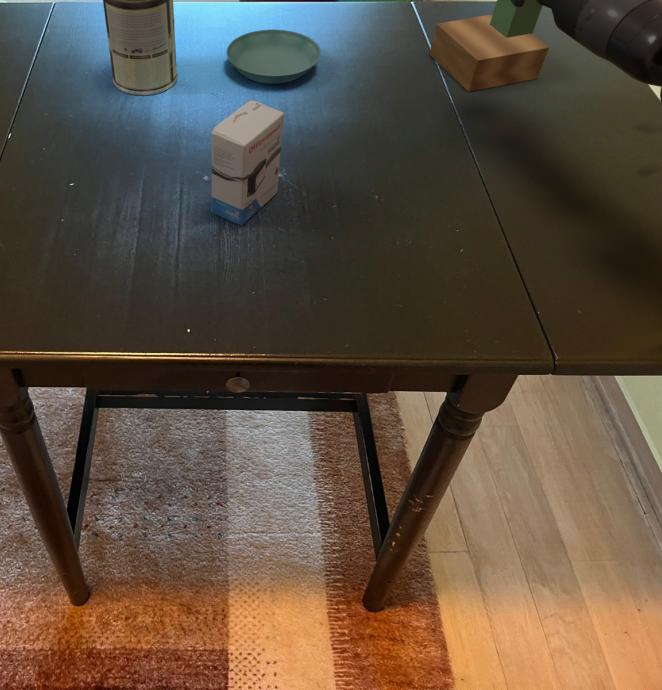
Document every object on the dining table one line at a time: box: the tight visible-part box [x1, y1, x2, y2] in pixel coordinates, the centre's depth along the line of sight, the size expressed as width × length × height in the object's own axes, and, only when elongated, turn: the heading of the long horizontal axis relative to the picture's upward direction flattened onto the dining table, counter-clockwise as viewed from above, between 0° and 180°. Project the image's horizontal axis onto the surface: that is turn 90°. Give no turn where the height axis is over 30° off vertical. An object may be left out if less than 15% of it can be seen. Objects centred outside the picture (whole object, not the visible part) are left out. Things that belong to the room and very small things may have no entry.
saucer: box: [226, 29, 322, 85], centre depth 108 cm, size 15×15×3 cm
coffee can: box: [102, 0, 178, 96], centre depth 102 cm, size 10×10×14 cm
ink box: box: [211, 99, 285, 227], centre depth 83 cm, size 8×5×12 cm, turn 143°
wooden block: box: [428, 13, 550, 93], centre depth 106 cm, size 12×12×5 cm
